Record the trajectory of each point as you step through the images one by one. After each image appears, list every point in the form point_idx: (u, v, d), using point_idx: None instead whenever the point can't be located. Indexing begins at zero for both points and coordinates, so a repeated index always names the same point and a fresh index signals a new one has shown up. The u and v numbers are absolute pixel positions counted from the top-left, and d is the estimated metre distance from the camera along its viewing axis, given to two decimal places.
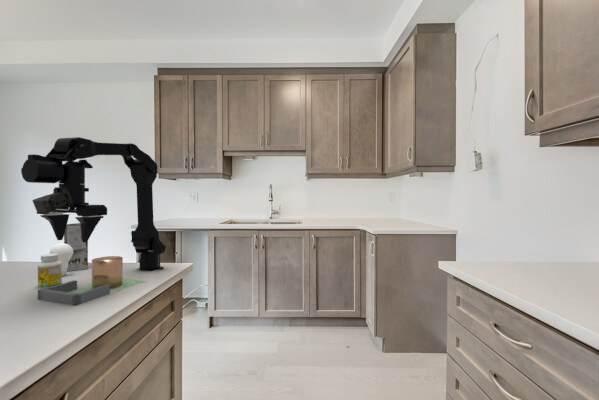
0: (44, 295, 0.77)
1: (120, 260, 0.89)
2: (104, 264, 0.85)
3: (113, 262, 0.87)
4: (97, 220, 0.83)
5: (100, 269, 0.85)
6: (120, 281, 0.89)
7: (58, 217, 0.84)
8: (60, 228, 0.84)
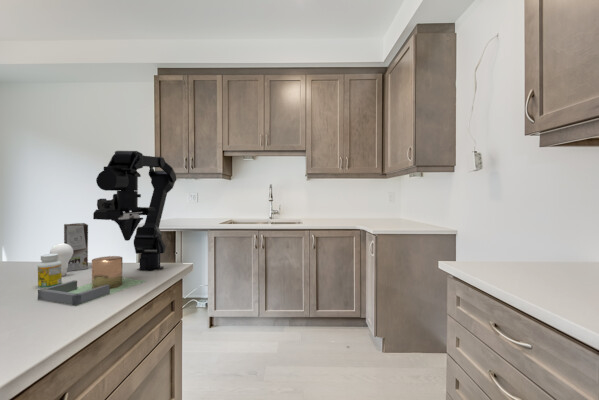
0: (44, 295, 0.77)
1: (120, 260, 0.89)
2: (104, 264, 0.85)
3: (113, 262, 0.87)
4: (126, 223, 0.93)
5: (100, 269, 0.85)
6: (120, 281, 0.89)
7: None
8: None
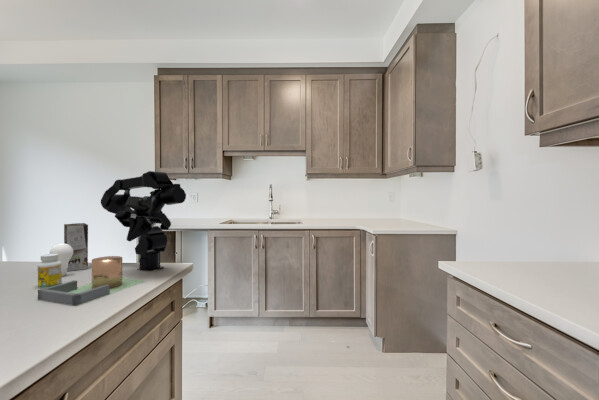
0: (44, 295, 0.77)
1: (120, 260, 0.89)
2: (104, 264, 0.85)
3: (112, 262, 0.87)
4: (147, 230, 1.00)
5: (100, 269, 0.85)
6: (120, 281, 0.89)
7: None
8: None
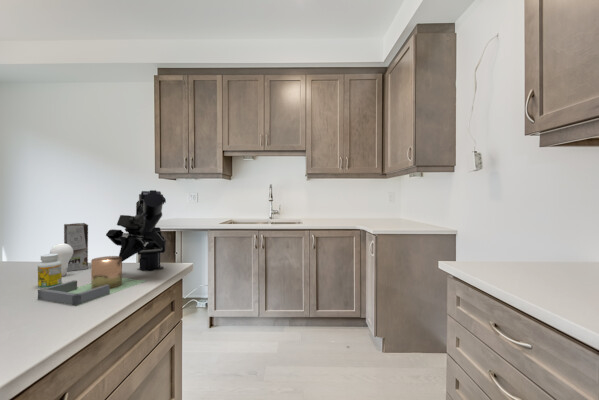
0: (44, 295, 0.77)
1: (119, 260, 0.89)
2: (103, 264, 0.85)
3: (112, 262, 0.87)
4: (139, 249, 0.97)
5: (100, 269, 0.85)
6: (119, 281, 0.89)
7: None
8: None
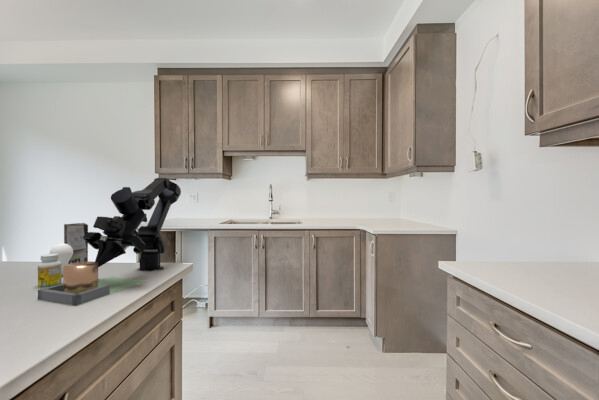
0: (44, 295, 0.77)
1: (95, 266, 0.81)
2: (76, 270, 0.78)
3: (86, 268, 0.79)
4: (118, 254, 0.90)
5: (72, 276, 0.78)
6: None
7: None
8: None
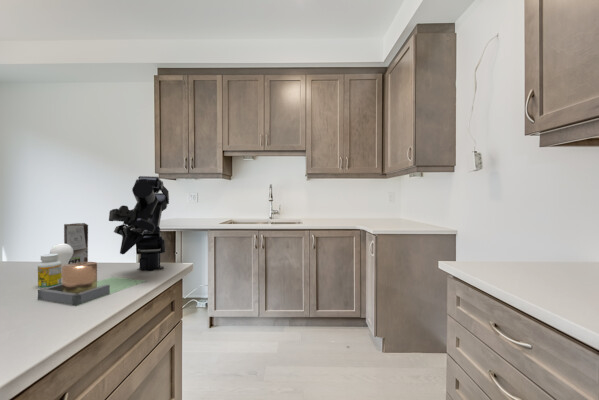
0: (44, 295, 0.77)
1: (93, 266, 0.81)
2: (74, 271, 0.78)
3: (85, 268, 0.79)
4: (139, 238, 0.97)
5: (71, 276, 0.77)
6: None
7: None
8: None
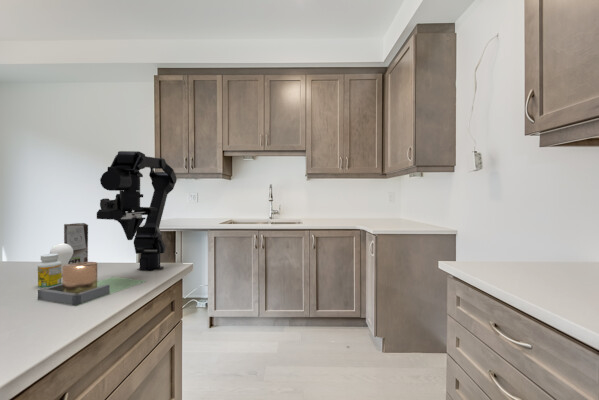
0: (44, 295, 0.77)
1: (94, 266, 0.81)
2: (75, 271, 0.78)
3: (85, 268, 0.79)
4: (129, 222, 0.94)
5: (71, 276, 0.77)
6: None
7: None
8: None
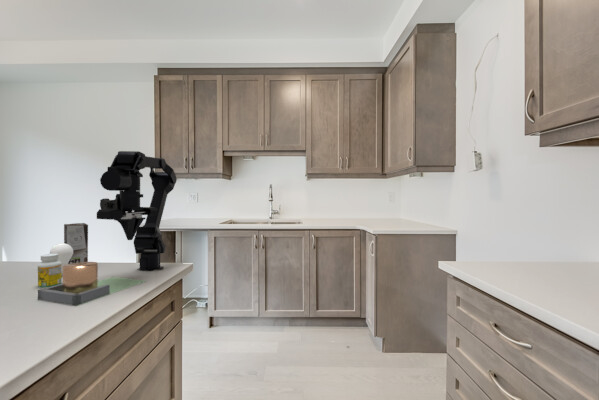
0: (44, 295, 0.77)
1: (94, 266, 0.81)
2: (75, 271, 0.78)
3: (85, 268, 0.79)
4: (129, 222, 0.94)
5: (71, 276, 0.77)
6: None
7: None
8: None
